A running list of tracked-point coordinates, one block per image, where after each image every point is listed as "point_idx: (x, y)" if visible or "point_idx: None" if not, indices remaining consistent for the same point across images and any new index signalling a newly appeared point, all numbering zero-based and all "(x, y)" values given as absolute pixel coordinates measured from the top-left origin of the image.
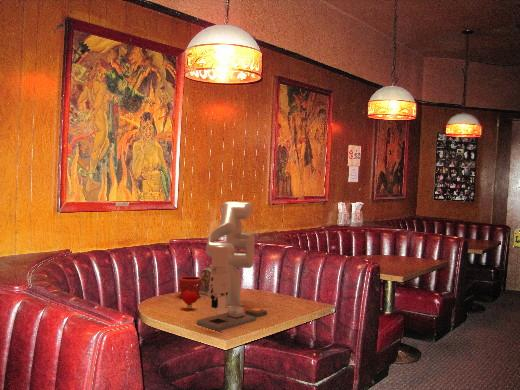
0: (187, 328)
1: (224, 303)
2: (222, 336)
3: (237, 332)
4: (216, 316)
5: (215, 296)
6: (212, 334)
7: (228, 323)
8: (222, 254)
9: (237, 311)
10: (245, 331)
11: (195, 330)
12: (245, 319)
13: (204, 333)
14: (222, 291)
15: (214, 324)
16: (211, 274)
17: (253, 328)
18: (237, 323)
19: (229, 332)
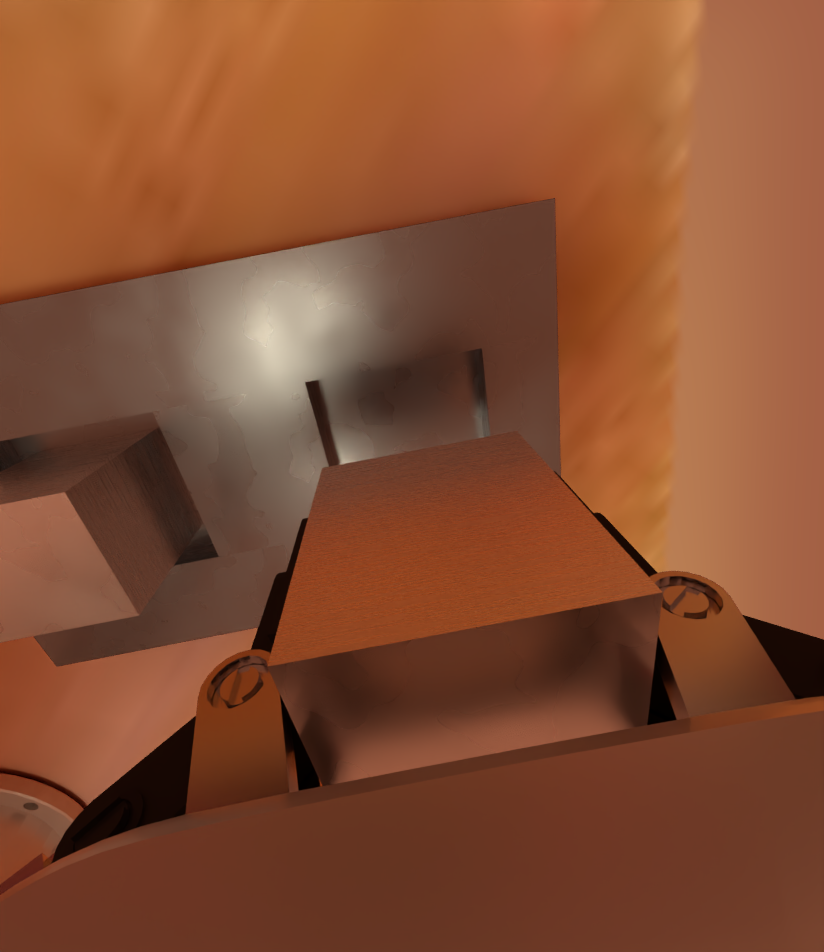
0: (661, 508)
1: (344, 508)
2: (602, 39)
3: (332, 66)
4: None
5: (748, 663)
6: (632, 206)
7: (347, 298)
8: None
9: (65, 480)
10: (202, 26)
11: (655, 427)
12: (27, 328)
13: (665, 294)
14: (576, 881)
15: (519, 361)
16: None
17: (18, 84)
18: (211, 265)
19: (424, 143)
